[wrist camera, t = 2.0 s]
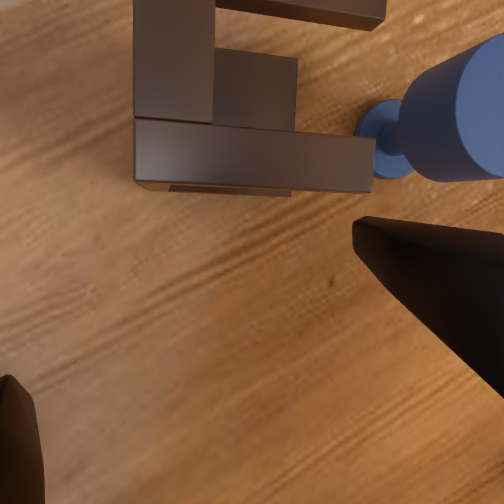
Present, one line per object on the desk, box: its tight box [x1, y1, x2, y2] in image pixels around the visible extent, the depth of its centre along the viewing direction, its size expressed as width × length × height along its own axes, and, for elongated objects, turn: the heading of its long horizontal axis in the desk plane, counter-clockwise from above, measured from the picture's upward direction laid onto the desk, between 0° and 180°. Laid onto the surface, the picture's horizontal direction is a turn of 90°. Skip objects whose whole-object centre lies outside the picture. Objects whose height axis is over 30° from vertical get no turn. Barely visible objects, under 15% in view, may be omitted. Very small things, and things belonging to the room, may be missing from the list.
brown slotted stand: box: [133, 0, 387, 197], centre depth 18 cm, size 8×8×10 cm
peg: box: [355, 33, 504, 182], centre depth 21 cm, size 6×6×10 cm
